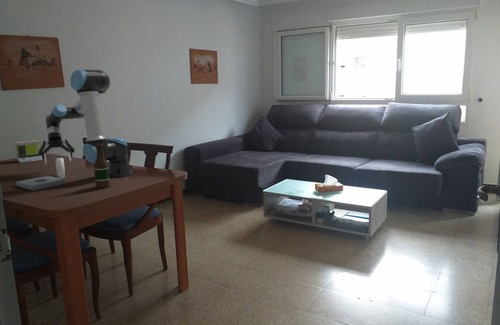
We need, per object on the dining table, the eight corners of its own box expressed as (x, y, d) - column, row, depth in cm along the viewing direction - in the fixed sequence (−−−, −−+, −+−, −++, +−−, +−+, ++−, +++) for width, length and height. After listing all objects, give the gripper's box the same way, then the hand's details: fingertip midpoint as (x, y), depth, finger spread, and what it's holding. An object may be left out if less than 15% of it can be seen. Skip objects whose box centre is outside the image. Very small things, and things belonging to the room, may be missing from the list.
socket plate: (64, 183, 221) (64, 179, 221) (32, 190, 207) (31, 186, 206) (48, 179, 231) (47, 175, 231) (16, 186, 217) (15, 181, 216)
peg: (66, 177, 236) (64, 158, 234) (59, 179, 233) (57, 159, 230) (62, 176, 239) (60, 157, 236) (56, 178, 235) (53, 158, 233)
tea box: (39, 158, 300) (37, 139, 298) (42, 160, 293) (40, 141, 290) (17, 161, 291) (15, 141, 288) (19, 163, 284) (17, 143, 281)
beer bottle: (105, 184, 219) (102, 142, 214) (113, 186, 214) (109, 143, 209) (92, 187, 213) (88, 144, 208) (100, 189, 208) (96, 145, 203)
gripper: (75, 137, 256) (80, 163, 246) (32, 140, 244) (35, 167, 234) (75, 130, 250) (80, 156, 240) (31, 132, 238) (34, 160, 228)
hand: (58, 162), depth 237 cm, fingers open, 13 cm apart
